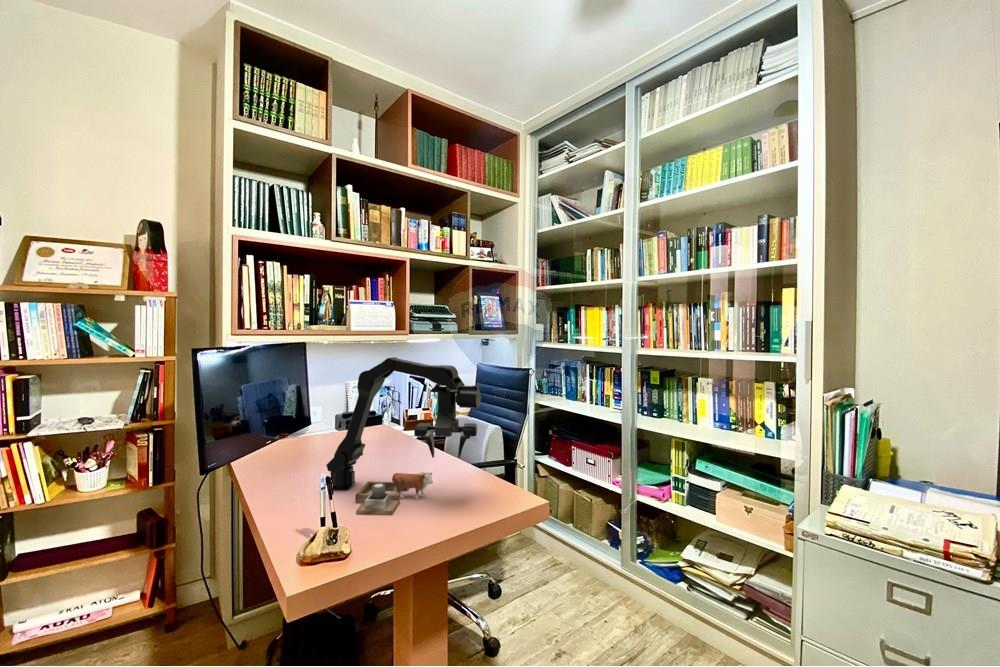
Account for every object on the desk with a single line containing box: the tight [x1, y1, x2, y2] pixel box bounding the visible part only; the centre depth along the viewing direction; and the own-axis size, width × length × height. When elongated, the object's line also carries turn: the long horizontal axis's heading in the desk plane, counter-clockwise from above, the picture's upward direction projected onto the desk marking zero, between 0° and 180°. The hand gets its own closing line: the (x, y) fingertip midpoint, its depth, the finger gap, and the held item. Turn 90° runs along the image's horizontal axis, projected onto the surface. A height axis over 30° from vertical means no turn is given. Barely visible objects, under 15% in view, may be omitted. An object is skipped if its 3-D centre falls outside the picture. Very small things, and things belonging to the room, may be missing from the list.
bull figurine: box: [391, 471, 434, 500], centre depth 126 cm, size 4×13×8 cm, turn 78°
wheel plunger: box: [371, 484, 386, 499], centre depth 117 cm, size 4×4×3 cm
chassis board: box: [354, 480, 409, 516], centre depth 122 cm, size 13×18×4 cm
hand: (446, 457), depth 126 cm, fingers open, 8 cm apart
